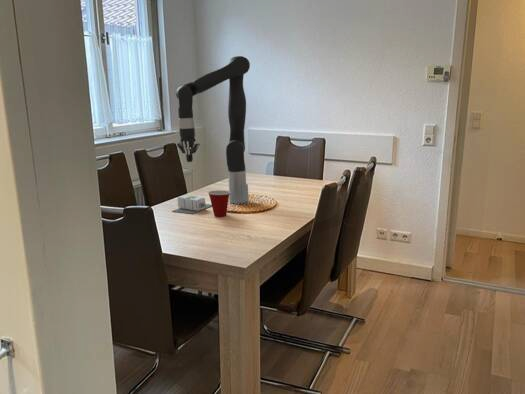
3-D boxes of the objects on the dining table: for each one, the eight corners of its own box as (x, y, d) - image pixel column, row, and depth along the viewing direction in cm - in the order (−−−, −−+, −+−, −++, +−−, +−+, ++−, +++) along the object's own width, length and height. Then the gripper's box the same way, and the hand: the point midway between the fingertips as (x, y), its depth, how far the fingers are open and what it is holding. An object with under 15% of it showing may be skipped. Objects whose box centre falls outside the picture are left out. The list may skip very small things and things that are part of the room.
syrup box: (178, 208, 249) (198, 211, 241) (176, 197, 248) (197, 200, 240) (185, 205, 254) (206, 208, 246) (184, 194, 252) (205, 197, 244)
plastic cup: (236, 214, 233) (235, 190, 230) (219, 219, 226) (217, 194, 223) (222, 211, 240) (220, 187, 238) (204, 216, 233) (203, 191, 230)
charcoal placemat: (213, 205, 253) (213, 204, 253) (192, 214, 237) (192, 213, 237) (193, 203, 259) (193, 202, 259) (172, 211, 244) (172, 211, 244)
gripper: (202, 126, 239) (204, 161, 242) (181, 126, 245) (184, 160, 249) (193, 128, 232) (195, 163, 236) (171, 128, 239) (174, 162, 243)
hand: (189, 161), depth 242 cm, fingers closed
